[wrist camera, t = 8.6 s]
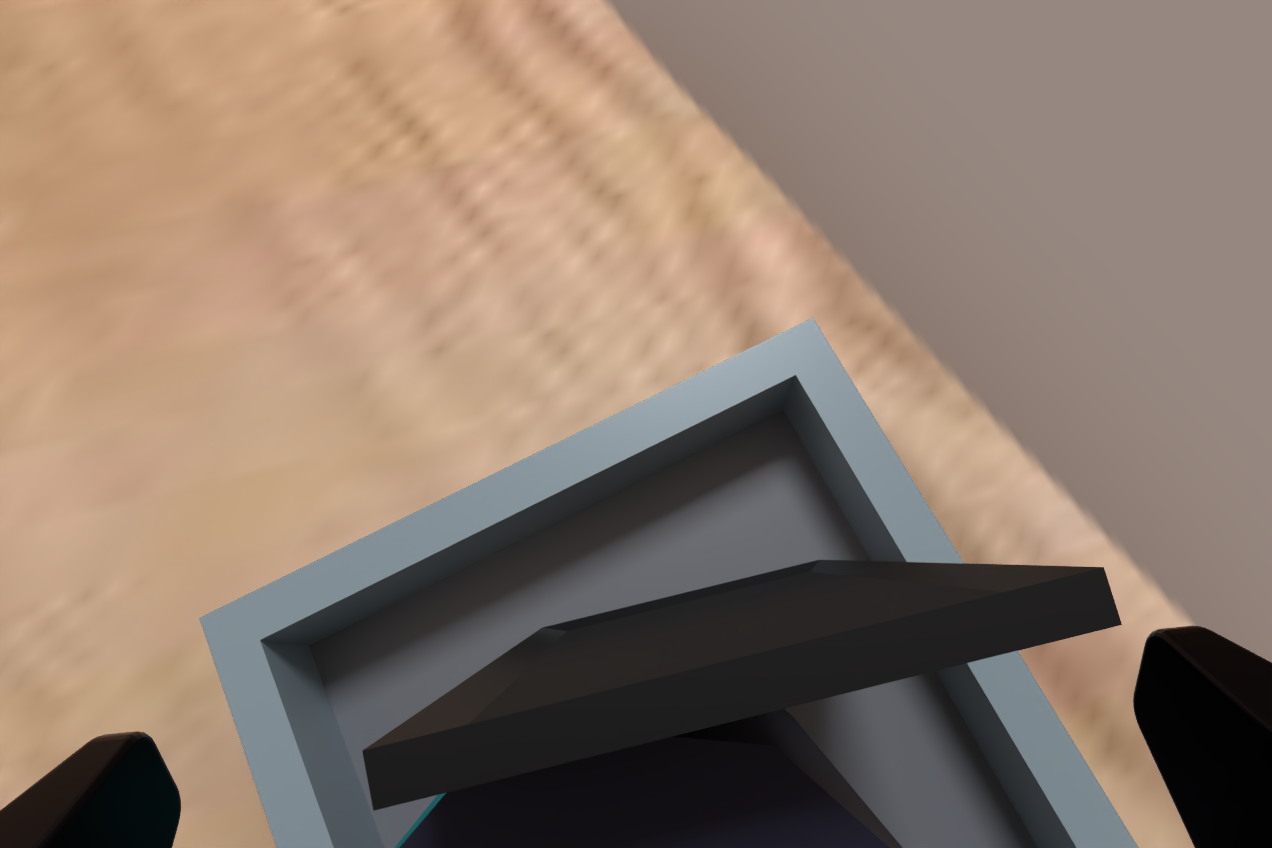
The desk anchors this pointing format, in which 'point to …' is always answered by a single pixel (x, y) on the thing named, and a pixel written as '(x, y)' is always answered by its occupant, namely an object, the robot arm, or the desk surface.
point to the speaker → (706, 707)
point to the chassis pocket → (636, 573)
